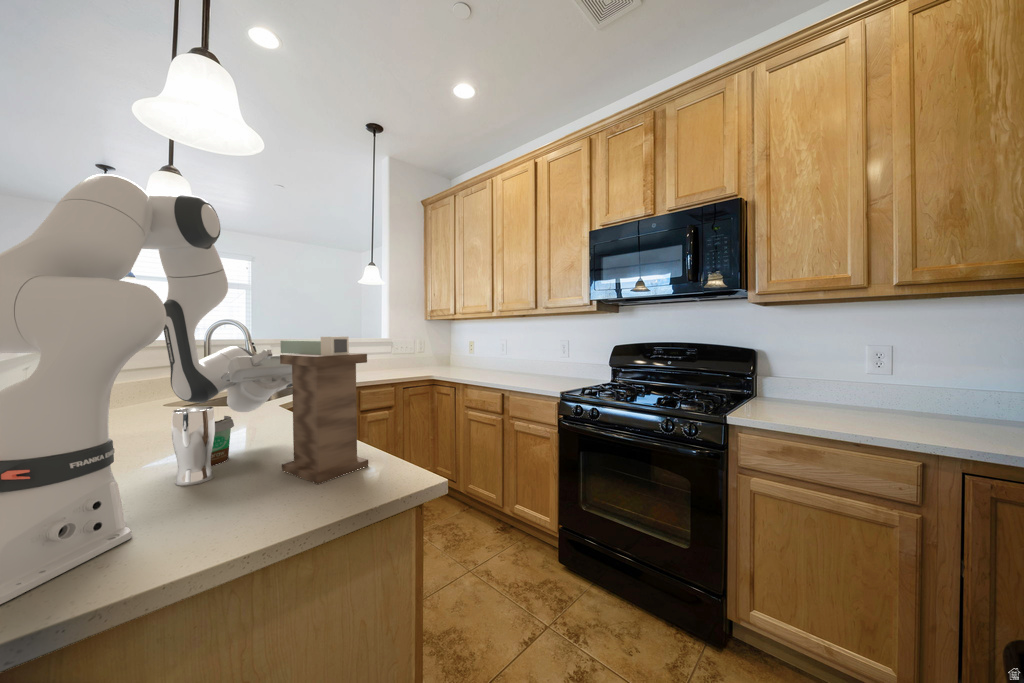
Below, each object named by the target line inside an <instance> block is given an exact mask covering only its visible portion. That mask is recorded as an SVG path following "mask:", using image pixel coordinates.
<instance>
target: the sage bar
mask: <svg viewBox="0 0 1024 683" xmlns="http://www.w3.org/2000/svg"><path fill="white" fill-rule="evenodd" d="M349 343H350V342H349V336H320V340H280V354H315V355H331V356H332V355H349V353H350V352H349V351H350V348H349Z"/></svg>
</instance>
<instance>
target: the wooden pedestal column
mask: <svg viewBox="0 0 1024 683" xmlns="http://www.w3.org/2000/svg"><path fill="white" fill-rule="evenodd" d="M279 355H280V364H289V365H292V390H291V391H292V430H293V432H292V434H293V435H292V436H293V437H292V438H293V441H292V442H293V460H291V461H288V462H283V463H281V470H282V471H281V472H283V471H285V472H284V473H286V472H288V473H287V474H289V473H290V474H289V475H291V474H293V475H292V476H294V475H296V476H295V477H297V476H298V477H297V478H299V477H301V478H300V479H302V478H303V480H305V479H306V480H305V481H308V480H309V481H308V482H310V481H311V482H310V483H313V482H314V483H313V484H316V483H317V484H316V485H319V483H320V484H323V483H325V481H326V482H328V480H329V481H331V480H330V479H332V480H334V479H336V478H335V477H337V478H339V477H338V476H340V477H342V476H341V475H343V474H346V473H349V472H351V473H353V472H352V471H354V472H356V471H355V470H357V469H360V468H363V467H366V466H368V467H369V459H368V458H364V457H362V456H358V430H357V429H358V427H357V426H358V425H357V424H358V420H357V419H358V418H357V417H358V415H357V411H358V409H357V364H366V363H368V354H367V353H360V352H359V353H355V352H354V353H351V352H349V355H332V356H331V355H315V354H293V353H286V354H279ZM366 468H367V467H366ZM363 469H364V468H363ZM360 470H361V469H360ZM357 471H358V470H357ZM349 474H350V473H349ZM346 475H347V474H346ZM343 476H344V475H343ZM333 478H334V479H333ZM322 482H323V483H322Z"/></svg>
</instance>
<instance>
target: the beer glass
mask: <svg viewBox="0 0 1024 683" xmlns="http://www.w3.org/2000/svg"><path fill="white" fill-rule="evenodd" d="M171 413H172V415H171V428H170V430H171V441H172V446H173V447H172V448H173V450H174V454H175V458H176V462H177V473H176V478H175V485H176V486H178V487H179V486H180V487H186V486H187V487H188V486H194V485H200V484H202V483H206V482H208V481H210V480H212V479H213V478H214V471H213V468H212V467H213V466H211V452H212V447H213V442H214V435H215V412H214V407H213V406H209V405H208V406H207V405H205V406H204V405H203V406H190V407H183V408H177V409H174V410H173V411H171Z"/></svg>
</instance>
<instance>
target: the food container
mask: <svg viewBox="0 0 1024 683" xmlns="http://www.w3.org/2000/svg"><path fill="white" fill-rule="evenodd" d="M234 427H235V423H234V419H232V417H231V416H229V415H224V416H223V419H220V420H216V421H215V435H214V442H213V447H212V452H211V467H214V466H217V465H216V464H218V465H220V464H219V463H221V464H223V463H225V462H227V461H228V460H229V457H230V456H229V453H230V443H231V442H230V441H231V433H232V432H231V429H232V428H234ZM227 459H228V460H227ZM226 460H227V461H226ZM224 461H225V462H224ZM222 462H223V463H222ZM213 465H214V466H213Z"/></svg>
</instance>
